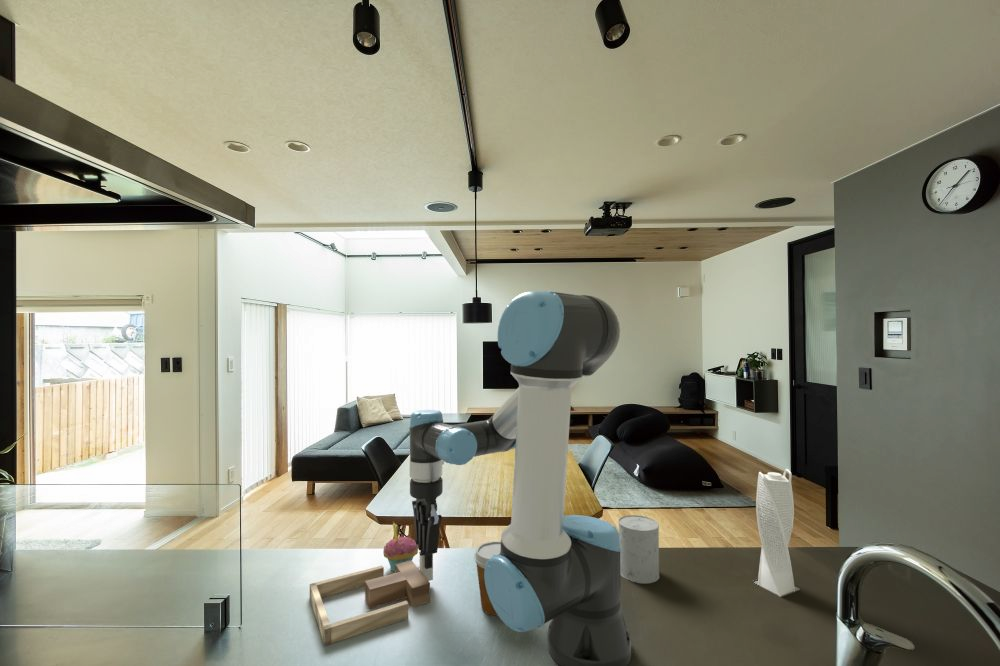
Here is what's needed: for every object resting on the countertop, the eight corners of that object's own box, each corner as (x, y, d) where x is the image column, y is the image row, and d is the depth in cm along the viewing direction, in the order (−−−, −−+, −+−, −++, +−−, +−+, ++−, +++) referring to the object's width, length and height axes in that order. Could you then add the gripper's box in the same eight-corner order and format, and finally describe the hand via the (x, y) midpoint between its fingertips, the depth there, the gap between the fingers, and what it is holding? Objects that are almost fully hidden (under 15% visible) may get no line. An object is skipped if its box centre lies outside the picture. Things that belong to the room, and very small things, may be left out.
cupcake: (392, 579, 107) (392, 529, 107) (377, 566, 113) (377, 518, 114) (424, 568, 112) (424, 519, 113) (407, 555, 119) (408, 510, 119)
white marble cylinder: (610, 568, 112) (610, 518, 112) (640, 560, 116) (639, 512, 117) (637, 587, 104) (636, 533, 104) (668, 578, 108) (667, 526, 108)
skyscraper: (806, 594, 101) (804, 469, 102) (783, 603, 98) (781, 473, 98) (770, 576, 109) (768, 460, 109) (748, 584, 105) (746, 464, 106)
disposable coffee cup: (519, 595, 100) (519, 541, 101) (517, 621, 91) (517, 561, 91) (477, 593, 101) (477, 539, 101) (470, 618, 92) (470, 559, 92)
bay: (408, 618, 92) (408, 603, 92) (324, 645, 84) (324, 629, 84) (382, 578, 108) (382, 565, 108) (309, 597, 99) (309, 584, 99)
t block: (429, 601, 98) (429, 583, 98) (374, 618, 92) (374, 598, 92) (411, 576, 108) (411, 560, 108) (360, 590, 102) (360, 573, 102)
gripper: (452, 482, 101) (452, 588, 100) (431, 468, 112) (430, 563, 111) (420, 488, 97) (420, 598, 96) (401, 472, 108) (401, 571, 108)
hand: (426, 579), depth 104 cm, fingers closed
